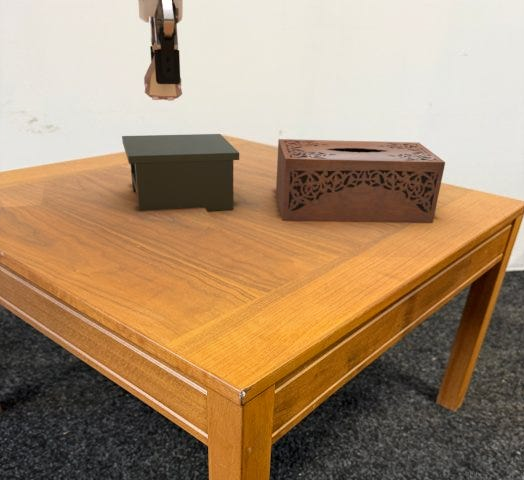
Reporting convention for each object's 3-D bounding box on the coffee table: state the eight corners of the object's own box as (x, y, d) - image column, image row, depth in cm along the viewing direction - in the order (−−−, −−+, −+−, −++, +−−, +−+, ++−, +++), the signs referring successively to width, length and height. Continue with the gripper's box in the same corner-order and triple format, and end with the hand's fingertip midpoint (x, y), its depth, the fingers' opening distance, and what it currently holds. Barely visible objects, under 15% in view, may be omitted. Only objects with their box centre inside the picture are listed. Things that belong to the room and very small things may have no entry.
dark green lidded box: (133, 215, 91) (128, 156, 86) (127, 189, 103) (121, 135, 98) (238, 209, 96) (239, 152, 91) (220, 185, 108) (220, 133, 103)
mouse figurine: (182, 92, 82) (181, 40, 78) (182, 101, 75) (180, 45, 71) (147, 91, 81) (144, 38, 77) (143, 99, 74) (140, 42, 71)
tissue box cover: (282, 220, 92) (285, 158, 86) (275, 194, 104) (278, 139, 98) (432, 222, 93) (445, 162, 88) (409, 196, 106) (418, 142, 100)
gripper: (122, -81, 72) (134, 73, 82) (129, -99, 58) (143, 89, 68) (179, -77, 74) (184, 74, 83) (199, -93, 60) (203, 90, 70)
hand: (165, 79), depth 76 cm, fingers closed on mouse figurine, 4 cm apart
